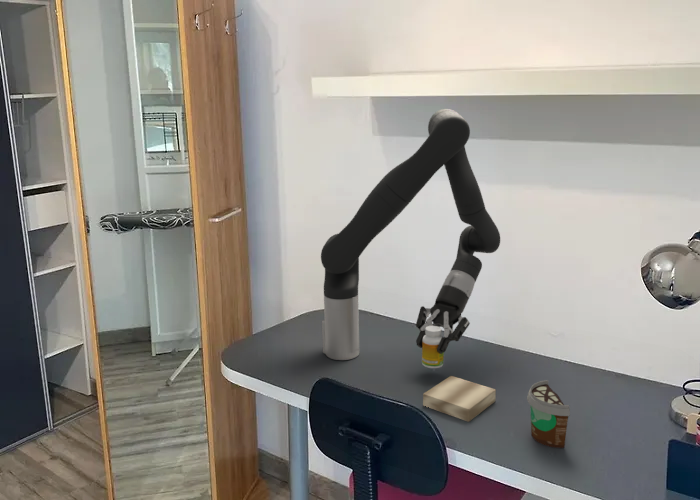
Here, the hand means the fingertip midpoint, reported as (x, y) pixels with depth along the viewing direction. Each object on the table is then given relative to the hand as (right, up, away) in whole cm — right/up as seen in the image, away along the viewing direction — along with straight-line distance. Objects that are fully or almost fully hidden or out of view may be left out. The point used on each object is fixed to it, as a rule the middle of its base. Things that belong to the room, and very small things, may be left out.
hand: (429, 349), depth 166 cm
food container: (+20, -15, -26) cm, 36 cm away
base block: (+6, -11, -12) cm, 17 cm away
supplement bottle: (+1, -4, +3) cm, 5 cm away
